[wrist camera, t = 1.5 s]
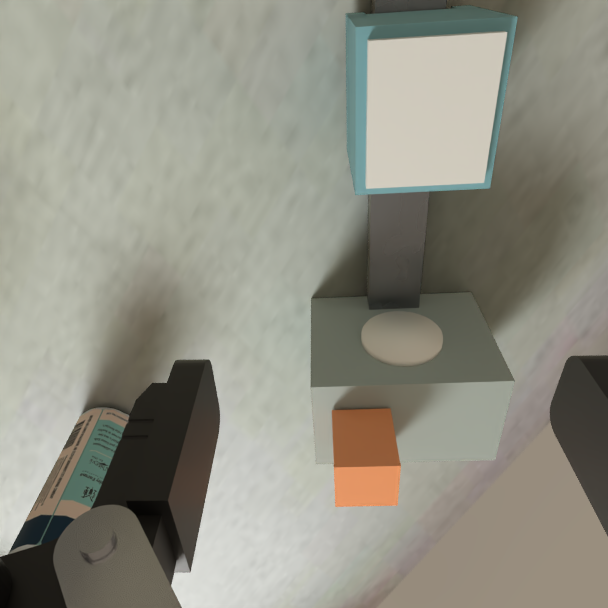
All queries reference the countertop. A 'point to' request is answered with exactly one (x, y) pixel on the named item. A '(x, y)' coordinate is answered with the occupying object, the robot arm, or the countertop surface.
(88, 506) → the beer can
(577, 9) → the countertop surface
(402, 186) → the box
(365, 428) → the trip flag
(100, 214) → the countertop surface
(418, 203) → the rail
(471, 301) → the cabinet
